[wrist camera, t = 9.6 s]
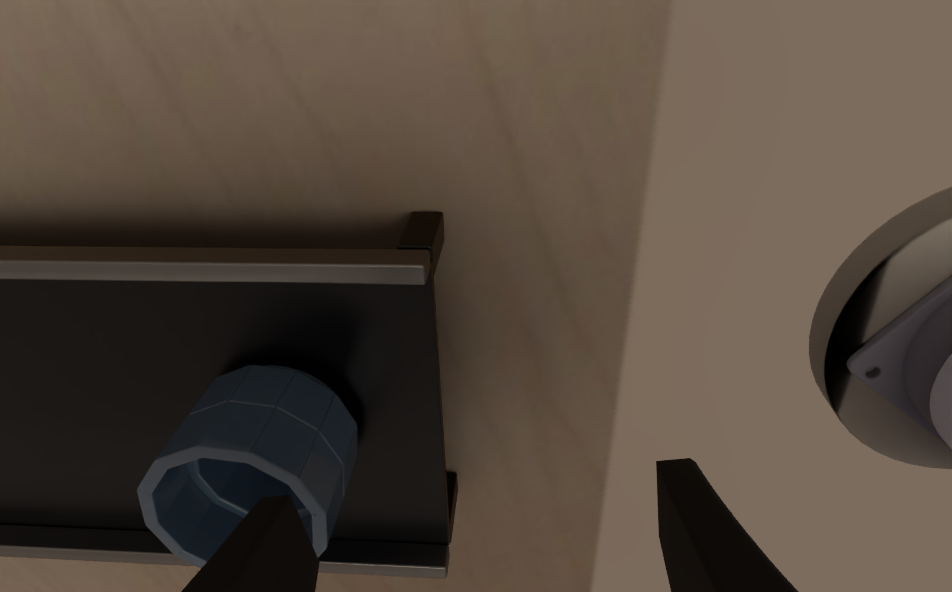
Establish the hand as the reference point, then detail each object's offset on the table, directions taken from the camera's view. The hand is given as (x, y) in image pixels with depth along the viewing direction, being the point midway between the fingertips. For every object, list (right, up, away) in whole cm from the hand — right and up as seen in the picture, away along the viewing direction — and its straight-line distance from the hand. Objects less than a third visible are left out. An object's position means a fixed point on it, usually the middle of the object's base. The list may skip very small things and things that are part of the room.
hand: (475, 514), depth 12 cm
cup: (-6, 0, +8) cm, 10 cm away
